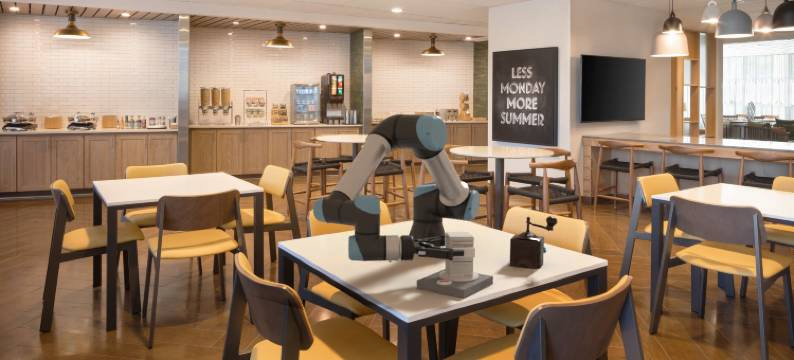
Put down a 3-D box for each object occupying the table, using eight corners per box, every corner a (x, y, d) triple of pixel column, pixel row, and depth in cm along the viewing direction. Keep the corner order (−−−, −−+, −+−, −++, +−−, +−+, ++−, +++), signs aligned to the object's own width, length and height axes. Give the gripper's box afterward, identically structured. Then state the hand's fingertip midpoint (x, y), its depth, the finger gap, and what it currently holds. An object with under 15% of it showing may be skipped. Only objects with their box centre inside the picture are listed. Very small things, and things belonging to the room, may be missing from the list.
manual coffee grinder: (507, 266, 212) (509, 214, 210) (514, 259, 222) (515, 209, 220) (554, 271, 206) (557, 217, 204) (559, 263, 216) (561, 212, 214)
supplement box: (444, 271, 193) (445, 231, 191) (468, 271, 193) (469, 231, 192) (448, 278, 185) (449, 236, 184) (473, 278, 186) (474, 236, 185)
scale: (416, 288, 185) (416, 278, 185) (447, 275, 200) (447, 266, 200) (464, 298, 176) (464, 287, 176) (492, 283, 191) (493, 274, 191)
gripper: (396, 250, 200) (461, 249, 202) (403, 271, 175) (478, 270, 177) (396, 227, 199) (462, 226, 201) (404, 244, 174) (479, 244, 176)
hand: (470, 247), depth 189 cm, fingers open, 13 cm apart
